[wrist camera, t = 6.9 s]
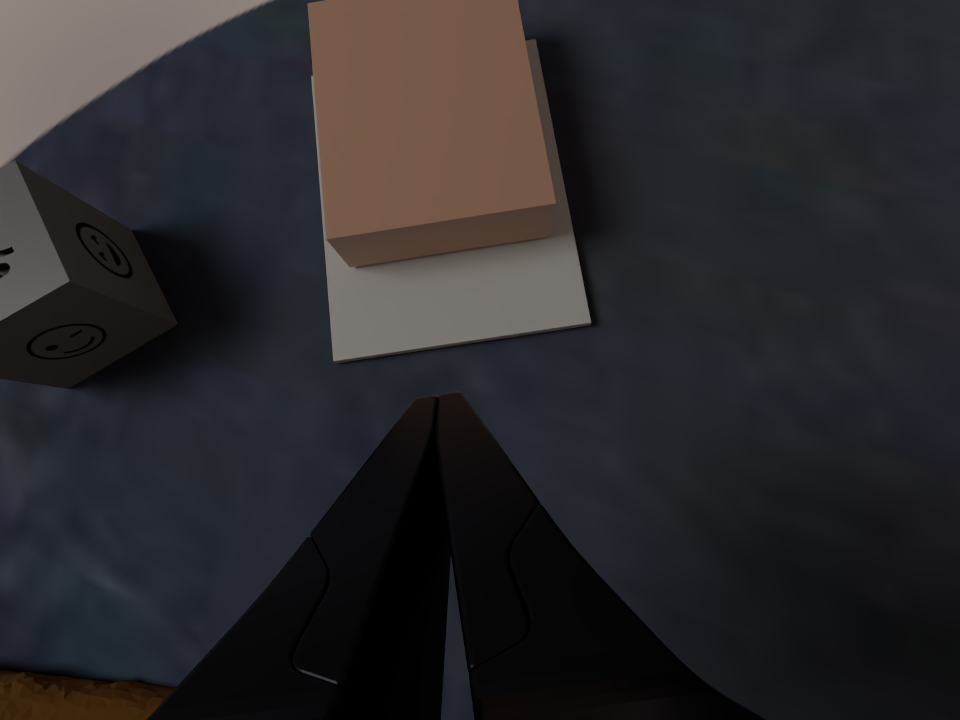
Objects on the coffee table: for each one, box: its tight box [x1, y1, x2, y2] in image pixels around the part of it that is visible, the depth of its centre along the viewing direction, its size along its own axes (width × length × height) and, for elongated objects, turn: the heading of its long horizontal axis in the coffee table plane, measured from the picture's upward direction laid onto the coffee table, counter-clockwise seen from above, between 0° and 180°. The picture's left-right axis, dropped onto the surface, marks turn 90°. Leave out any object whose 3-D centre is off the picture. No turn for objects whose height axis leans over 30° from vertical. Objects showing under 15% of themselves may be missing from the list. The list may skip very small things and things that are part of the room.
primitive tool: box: [0, 671, 175, 720], centre depth 15 cm, size 19×6×4 cm, turn 82°
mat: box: [311, 39, 591, 363], centre depth 20 cm, size 13×10×1 cm
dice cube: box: [0, 161, 178, 389], centre depth 17 cm, size 5×5×5 cm
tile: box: [308, 0, 556, 267], centre depth 19 cm, size 3×8×10 cm
